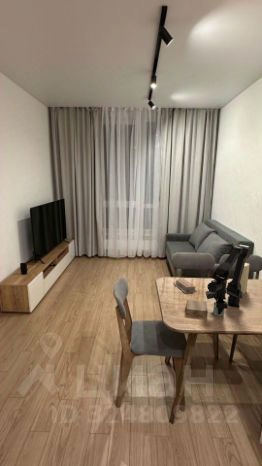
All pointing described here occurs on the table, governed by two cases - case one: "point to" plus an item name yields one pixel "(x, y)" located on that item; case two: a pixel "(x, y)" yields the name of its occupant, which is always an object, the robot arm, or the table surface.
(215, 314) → the slate cube
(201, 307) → the walnut block
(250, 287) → the table surface
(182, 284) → the packaged product
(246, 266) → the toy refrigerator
